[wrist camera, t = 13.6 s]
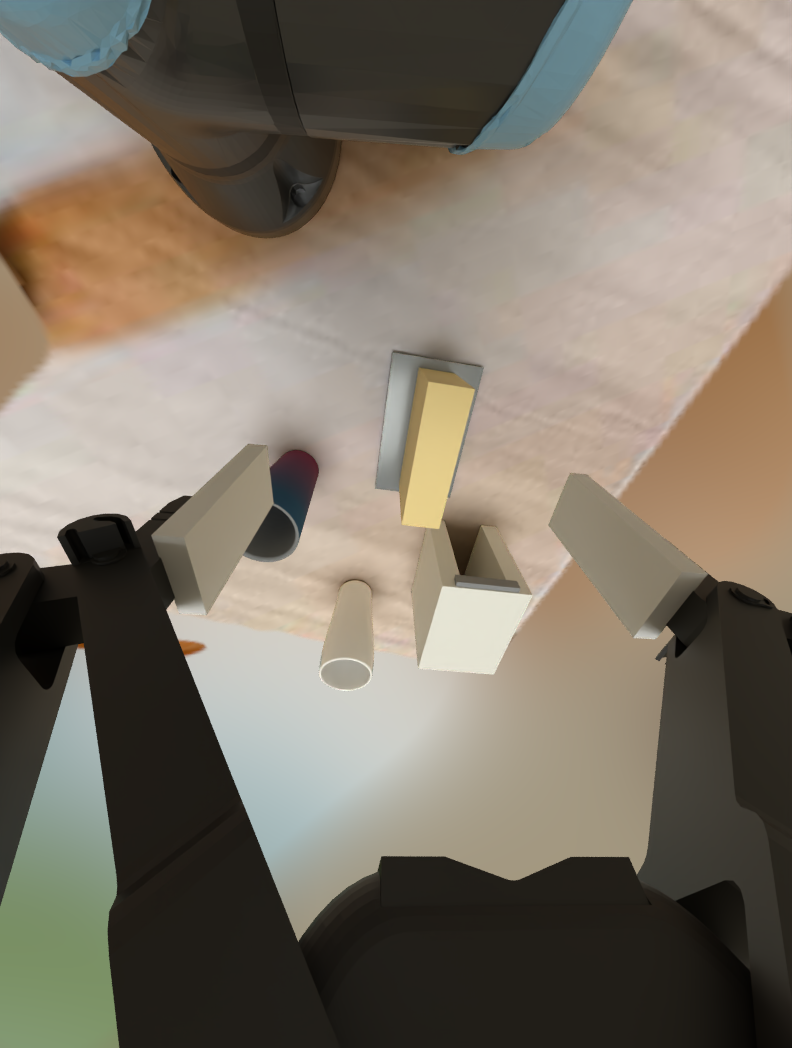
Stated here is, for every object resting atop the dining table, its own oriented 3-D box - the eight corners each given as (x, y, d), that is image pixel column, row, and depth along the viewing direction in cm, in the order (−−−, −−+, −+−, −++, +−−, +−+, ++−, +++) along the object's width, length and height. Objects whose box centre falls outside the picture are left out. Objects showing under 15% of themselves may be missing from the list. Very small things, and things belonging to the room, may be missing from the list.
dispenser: (429, 514, 46) (443, 581, 34) (497, 523, 47) (534, 591, 35) (411, 591, 54) (418, 668, 42) (470, 597, 55) (493, 674, 43)
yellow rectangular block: (418, 367, 36) (428, 381, 27) (454, 373, 36) (475, 389, 28) (398, 484, 43) (401, 524, 34) (429, 488, 43) (439, 529, 35)
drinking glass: (371, 571, 52) (366, 654, 39) (380, 602, 55) (378, 687, 42) (329, 578, 52) (310, 662, 39) (341, 608, 56) (327, 694, 43)
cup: (268, 441, 41) (212, 496, 28) (323, 444, 41) (294, 499, 28) (275, 491, 44) (230, 561, 31) (327, 493, 44) (302, 563, 32)
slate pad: (392, 351, 36) (392, 352, 35) (481, 366, 37) (483, 367, 36) (375, 485, 44) (375, 488, 43) (448, 495, 45) (449, 497, 44)
